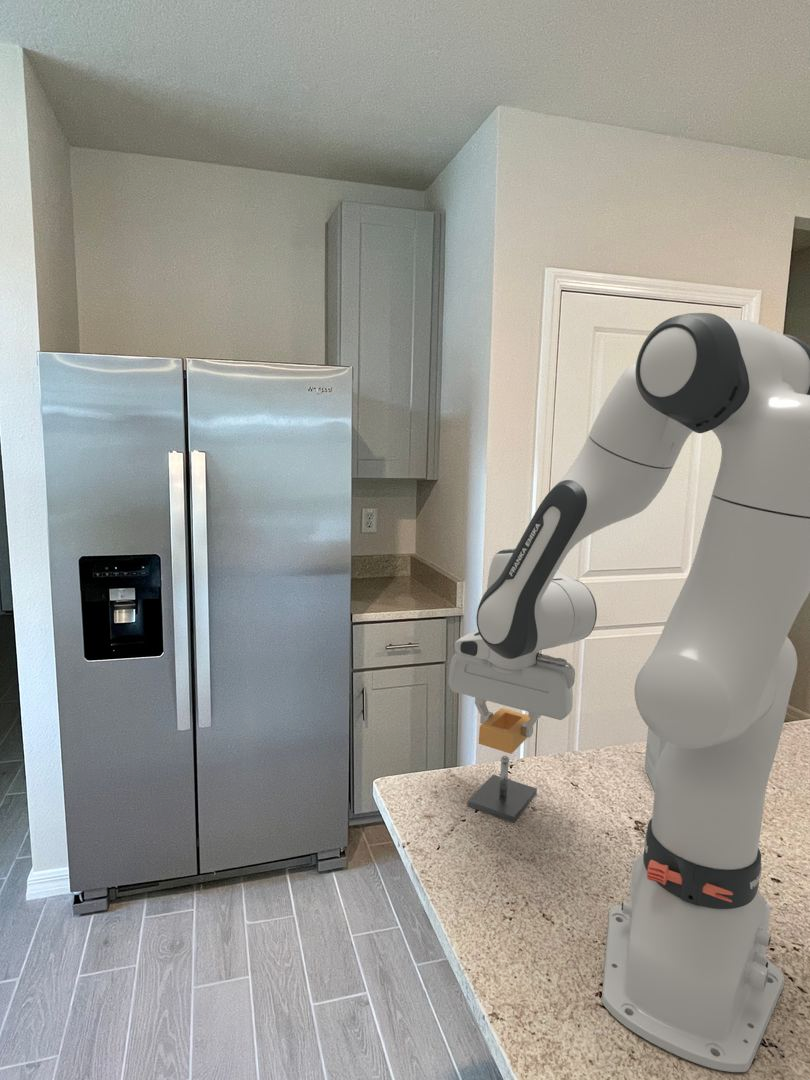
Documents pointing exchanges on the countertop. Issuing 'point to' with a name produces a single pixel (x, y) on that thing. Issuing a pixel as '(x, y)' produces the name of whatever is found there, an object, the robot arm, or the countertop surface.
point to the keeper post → (502, 795)
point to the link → (503, 730)
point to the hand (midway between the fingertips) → (506, 729)
